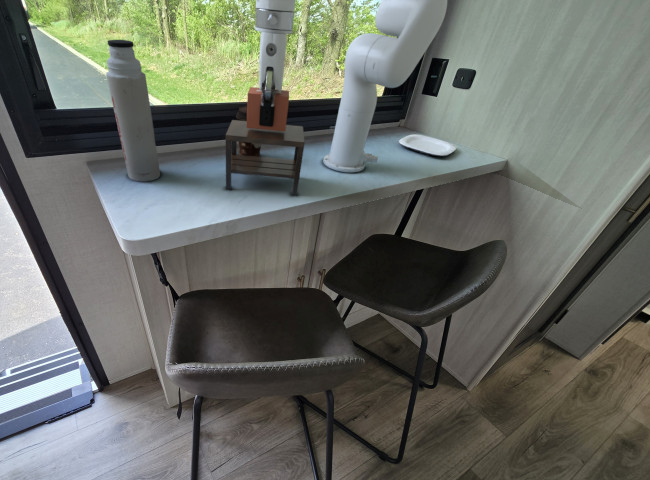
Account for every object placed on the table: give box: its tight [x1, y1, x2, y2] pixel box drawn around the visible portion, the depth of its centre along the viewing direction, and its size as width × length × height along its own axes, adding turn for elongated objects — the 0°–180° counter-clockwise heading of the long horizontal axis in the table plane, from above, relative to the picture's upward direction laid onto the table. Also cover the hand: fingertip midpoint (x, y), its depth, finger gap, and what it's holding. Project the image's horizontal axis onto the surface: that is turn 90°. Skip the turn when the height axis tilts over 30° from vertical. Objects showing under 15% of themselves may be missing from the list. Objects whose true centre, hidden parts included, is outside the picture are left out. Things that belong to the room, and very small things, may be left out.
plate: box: [398, 133, 458, 157], centre depth 116 cm, size 18×18×2 cm
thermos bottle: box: [105, 39, 161, 182], centre depth 75 cm, size 8×8×28 cm
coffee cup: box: [235, 105, 262, 157], centre depth 95 cm, size 9×8×13 cm
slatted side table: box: [225, 119, 306, 197], centre depth 82 cm, size 18×12×13 cm, turn 87°
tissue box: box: [246, 86, 290, 131], centre depth 74 cm, size 6×9×7 cm
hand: (266, 120), depth 76 cm, fingers closed on tissue box, 6 cm apart
